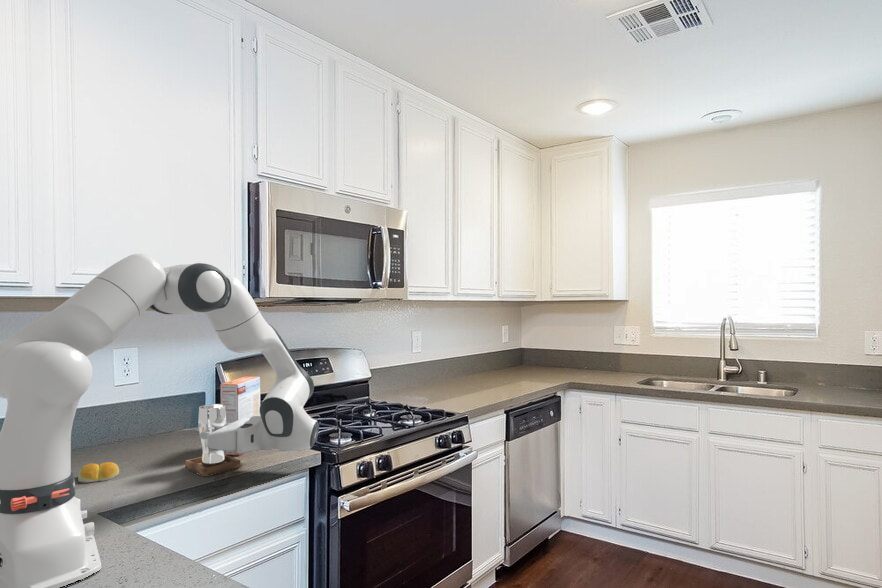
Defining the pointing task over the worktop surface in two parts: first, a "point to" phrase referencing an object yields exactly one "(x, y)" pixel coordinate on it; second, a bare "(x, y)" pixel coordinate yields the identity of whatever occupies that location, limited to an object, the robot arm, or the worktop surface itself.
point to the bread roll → (98, 472)
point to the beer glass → (211, 421)
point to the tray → (212, 469)
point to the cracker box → (240, 400)
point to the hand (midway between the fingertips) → (209, 431)
